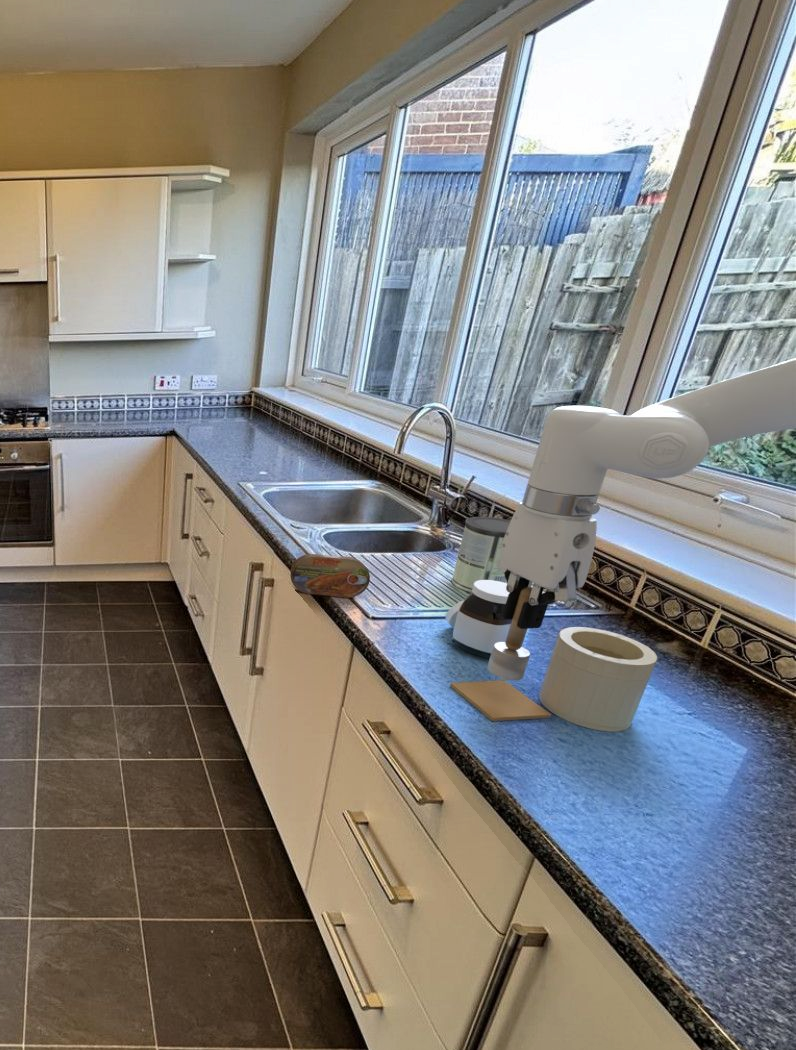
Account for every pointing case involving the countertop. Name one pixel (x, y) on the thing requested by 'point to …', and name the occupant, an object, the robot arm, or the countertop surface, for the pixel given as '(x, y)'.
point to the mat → (499, 700)
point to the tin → (330, 575)
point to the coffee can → (480, 552)
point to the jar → (596, 678)
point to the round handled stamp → (511, 647)
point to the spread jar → (480, 618)
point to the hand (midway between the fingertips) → (520, 622)
